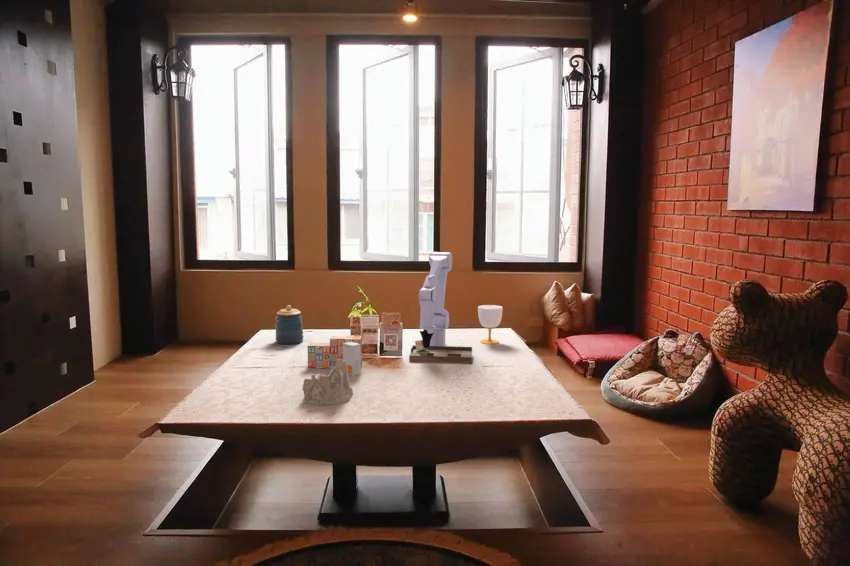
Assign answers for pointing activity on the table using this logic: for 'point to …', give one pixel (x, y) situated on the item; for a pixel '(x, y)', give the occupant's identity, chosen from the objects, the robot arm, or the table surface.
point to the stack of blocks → (329, 351)
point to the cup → (490, 319)
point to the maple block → (419, 345)
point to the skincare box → (352, 357)
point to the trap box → (442, 354)
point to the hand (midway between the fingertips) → (426, 347)
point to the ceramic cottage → (329, 387)
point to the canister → (289, 326)
